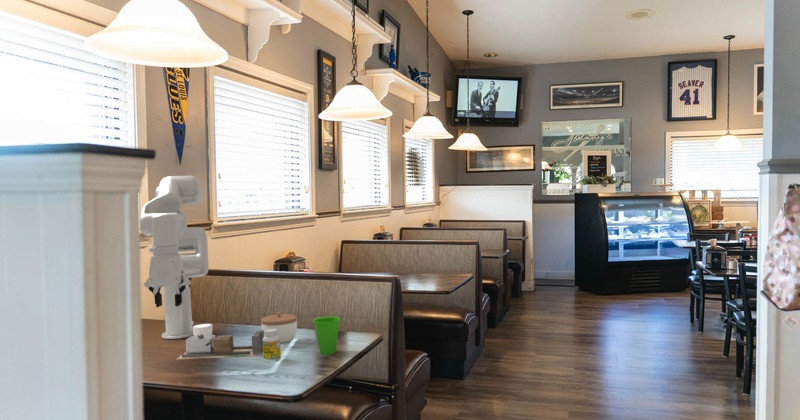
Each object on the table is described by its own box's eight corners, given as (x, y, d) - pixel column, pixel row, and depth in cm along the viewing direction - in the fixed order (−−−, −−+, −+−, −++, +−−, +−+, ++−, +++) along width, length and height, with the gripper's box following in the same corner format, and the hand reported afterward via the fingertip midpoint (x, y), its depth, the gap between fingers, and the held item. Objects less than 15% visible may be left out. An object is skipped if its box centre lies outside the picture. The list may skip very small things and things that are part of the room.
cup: (324, 347, 189) (322, 315, 189) (347, 350, 185) (345, 317, 185) (308, 355, 181) (307, 321, 181) (332, 357, 177) (330, 323, 177)
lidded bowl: (255, 343, 199) (254, 312, 198) (287, 336, 207) (285, 307, 207) (272, 350, 189) (271, 317, 189) (304, 342, 197) (303, 311, 197)
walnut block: (218, 350, 186) (218, 335, 186) (233, 350, 186) (233, 335, 186) (213, 354, 181) (213, 339, 181) (229, 354, 181) (228, 338, 181)
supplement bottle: (284, 358, 179) (282, 328, 178) (275, 363, 174) (273, 332, 173) (269, 357, 180) (267, 327, 180) (260, 362, 175) (258, 331, 175)
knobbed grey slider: (192, 350, 186) (191, 333, 186) (215, 349, 186) (215, 332, 186) (183, 357, 179) (182, 339, 179) (208, 356, 179) (207, 338, 179)
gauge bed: (190, 352, 190) (189, 331, 190) (266, 349, 190) (265, 328, 190) (176, 363, 178) (174, 340, 178) (257, 359, 178) (256, 337, 178)
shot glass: (207, 347, 196) (206, 327, 196) (189, 347, 197) (188, 327, 197) (217, 342, 203) (216, 323, 203) (200, 342, 204) (199, 323, 204)
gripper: (134, 253, 179) (137, 309, 180) (187, 251, 179) (190, 307, 180) (145, 251, 187) (147, 304, 187) (196, 249, 187) (198, 302, 187)
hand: (168, 305), depth 184 cm, fingers open, 5 cm apart
